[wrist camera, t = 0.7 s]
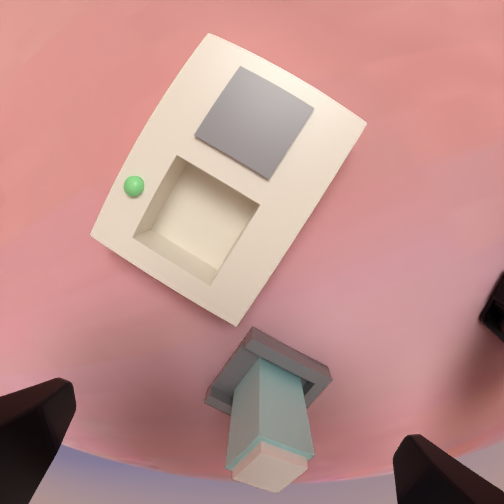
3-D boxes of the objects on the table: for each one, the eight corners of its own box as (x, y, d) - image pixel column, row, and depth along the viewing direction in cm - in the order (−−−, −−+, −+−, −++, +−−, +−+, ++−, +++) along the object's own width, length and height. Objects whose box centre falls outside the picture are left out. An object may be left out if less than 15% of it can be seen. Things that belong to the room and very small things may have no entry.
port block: (348, 133, 17) (369, 122, 13) (240, 302, 19) (236, 329, 16) (217, 57, 16) (207, 30, 13) (116, 226, 19) (87, 236, 15)
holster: (327, 366, 20) (332, 379, 19) (278, 422, 21) (279, 436, 20) (252, 326, 20) (252, 338, 18) (207, 389, 21) (204, 402, 19)
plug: (300, 377, 20) (317, 466, 12) (273, 408, 20) (278, 497, 13) (259, 356, 20) (259, 446, 12) (234, 389, 20) (223, 479, 12)
